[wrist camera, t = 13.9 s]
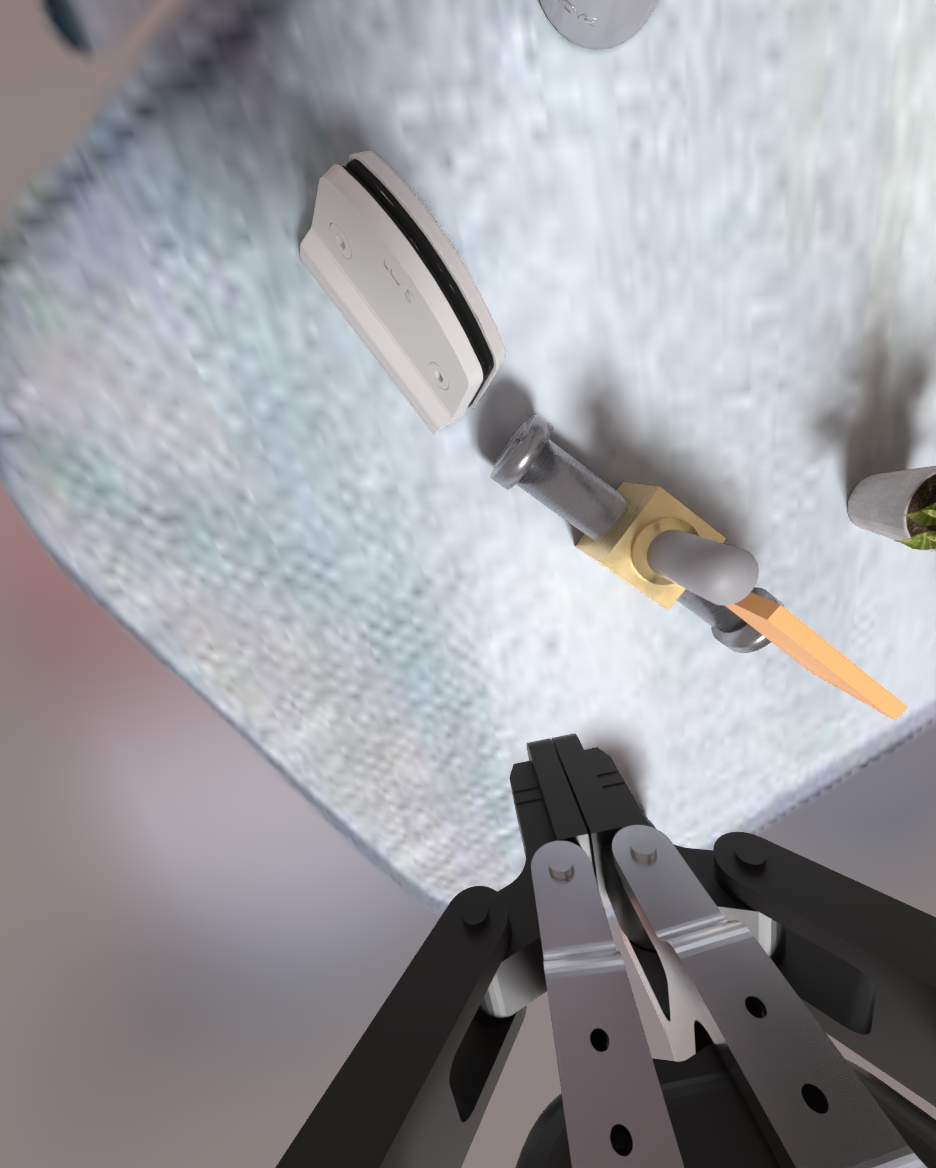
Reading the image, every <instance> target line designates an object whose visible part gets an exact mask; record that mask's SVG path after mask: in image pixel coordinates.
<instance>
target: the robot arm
mask: <svg viewBox="0 0 936 1168" xmlns="http://www.w3.org/2000/svg"><path fill="white" fill-rule="evenodd" d="M540 3H541V5H542V7H543V9H544V11H545V13H546V15H547V17H548V19H549V20H550V22H551V23H552V24H553V25H554V27H555V28H556V29H557V30H558V32H559V33H561V34H562V35H563V36H564V37H566V38H567V39H568V40H569V41H570V42H573V43H575V44H577V45H579V46H581V47H584V48H590V49H596V50H598V49H607V48H612V47H614V46H617V45H619V44H622V43H624V42H625V41H627V40H628V39H629V38H631V37H632V36H634V35H635V34H636V33H637V32H638V31H639V30H640V29H641V28H642V26H643V25H644V24H645V23H646V22H647V20H648V18H649V17H650V15H651V14H652V12H653V10H654V9H655V7H656V5H657V3H658V0H540ZM527 751H528V756H529V761H527V762H522V763H517V764H514V765H513V768H512V772H511V775H510V782H511V788H512V793H513V798H514V804H515V809H516V814H517V819H518V824H519V828H520V833H521V837H522V842H523V846H524V851H525V855H526V863H525V866H524V869H523V871H522V872H521V874H520V875H519V877H518V878H517V879H516V880H515V881H514V882H512V883H511V884H510V885H508V886H506V887H505V888H503V889H501V890H500V891H498V892H497V891H495V890H493V889H491V888H489V887H485V886H475V887H470V888H467V889H465V890H463V891H462V892H460V893H459V894H458V895H456V896H455V897H454V898H453V900H452V901H451V902H450V904H449V905H448V907H447V908H446V910H445V911H444V913H443V914H442V916H441V917H440V919H439V921H438V922H437V924H436V925H435V927H434V928H433V930H432V931H431V933H430V934H429V936H428V937H427V939H426V940H425V942H424V943H423V945H422V946H421V948H420V949H419V951H418V952H417V954H416V955H415V957H414V958H413V960H412V961H411V963H410V965H409V967H408V968H407V969H406V971H405V972H404V974H403V975H402V977H401V978H400V980H399V981H398V983H397V984H396V986H395V988H394V989H393V990H392V992H391V993H390V995H389V996H388V998H387V999H386V1001H385V1002H384V1004H383V1005H382V1007H381V1008H380V1010H379V1011H378V1013H377V1015H376V1016H375V1018H374V1019H373V1021H372V1022H371V1024H370V1025H369V1027H368V1028H367V1030H366V1031H365V1033H364V1034H363V1036H362V1037H361V1039H360V1040H359V1042H358V1043H357V1045H356V1046H355V1048H354V1049H353V1051H352V1052H351V1054H350V1055H349V1057H348V1059H347V1060H346V1062H345V1063H344V1065H343V1066H342V1068H341V1069H340V1071H339V1072H338V1074H337V1075H336V1077H335V1078H334V1080H333V1081H332V1083H331V1084H330V1086H329V1088H328V1089H327V1090H326V1092H325V1093H324V1095H323V1096H322V1098H321V1099H320V1101H319V1102H318V1104H317V1105H316V1107H315V1108H314V1110H313V1112H312V1113H311V1115H310V1116H309V1118H308V1119H307V1121H306V1122H305V1124H304V1125H303V1127H302V1128H301V1130H300V1131H299V1133H298V1134H297V1136H296V1137H295V1139H294V1140H293V1142H292V1143H291V1145H290V1146H289V1148H288V1149H287V1151H286V1153H285V1154H284V1155H283V1157H282V1159H281V1160H280V1162H279V1164H278V1165H277V1166H276V1168H461V1166H462V1164H463V1162H464V1160H465V1157H466V1155H467V1152H468V1150H469V1148H470V1145H471V1143H472V1141H473V1138H474V1136H475V1133H476V1131H477V1129H478V1127H479V1124H480V1122H481V1119H482V1117H483V1115H484V1112H485V1110H486V1107H487V1105H488V1103H489V1101H490V1098H491V1096H492V1093H493V1091H494V1089H495V1086H496V1084H497V1081H498V1079H499V1077H500V1075H501V1072H502V1070H503V1067H504V1065H505V1062H506V1060H507V1058H508V1056H509V1053H510V1051H511V1048H512V1046H513V1044H514V1041H515V1039H516V1036H517V1034H518V1032H519V1030H520V1027H521V1025H522V1022H523V1020H524V1017H525V1013H526V1008H527V1004H529V1003H530V1002H532V1001H533V1000H534V999H536V998H537V997H539V996H540V995H542V994H543V993H545V992H546V991H547V992H548V1000H549V1007H550V1014H551V1021H552V1028H553V1035H554V1043H555V1050H556V1057H557V1064H558V1071H559V1078H560V1086H561V1094H559V1095H558V1096H557V1097H556V1098H555V1099H554V1100H553V1101H552V1102H551V1103H550V1104H549V1105H548V1106H547V1108H546V1109H545V1110H544V1111H543V1112H542V1114H541V1115H540V1116H539V1118H538V1120H537V1121H536V1123H535V1124H534V1126H533V1128H532V1129H531V1131H530V1133H529V1135H528V1137H527V1139H526V1141H525V1144H524V1146H523V1148H522V1151H521V1153H520V1156H519V1159H518V1161H517V1164H516V1168H936V1120H935V1119H934V1118H932V1117H931V1116H929V1115H928V1114H927V1113H925V1112H924V1111H922V1110H921V1109H920V1108H918V1107H917V1106H916V1105H914V1104H913V1103H911V1102H910V1101H909V1100H907V1099H906V1098H905V1097H903V1096H902V1095H900V1094H899V1093H898V1092H896V1091H895V1090H893V1089H892V1088H890V1087H889V1086H888V1085H886V1084H885V1083H884V1082H882V1081H881V1080H879V1079H878V1078H877V1077H875V1076H874V1075H872V1074H871V1073H869V1072H867V1071H865V1070H864V1069H862V1068H861V1067H859V1066H857V1065H856V1064H854V1063H852V1062H850V1061H848V1060H846V1059H844V1057H843V1056H842V1055H841V1053H840V1052H839V1051H838V1049H837V1048H836V1046H835V1045H834V1044H833V1042H832V1041H831V1040H830V1038H829V1037H828V1036H827V1034H829V1035H830V1036H832V1037H833V1038H835V1039H836V1040H838V1041H839V1042H841V1043H842V1044H844V1045H845V1046H846V1047H848V1048H849V1049H851V1050H853V1051H854V1052H855V1053H857V1054H858V1055H860V1056H861V1057H863V1058H864V1059H866V1060H867V1061H869V1062H870V1063H872V1064H873V1065H874V1066H876V1067H877V1068H879V1069H880V1070H882V1071H883V1072H885V1073H886V1074H888V1075H889V1076H891V1077H892V1078H894V1079H895V1080H897V1081H898V1082H900V1083H901V1084H903V1085H904V1086H906V1087H907V1088H909V1089H910V1090H911V1091H913V1092H915V1093H916V1094H917V1095H919V1096H920V1097H922V1098H923V1099H925V1100H926V1101H928V1102H929V1103H931V1104H932V1105H934V1106H935V1107H936V917H934V916H931V915H929V914H927V913H924V912H923V911H920V910H918V909H916V908H914V907H912V906H910V905H907V904H905V903H903V902H901V901H899V900H896V899H894V898H892V897H890V896H888V895H885V894H883V893H881V892H879V891H877V890H875V889H872V888H870V887H868V886H866V885H864V884H861V883H859V882H857V881H855V880H853V879H851V878H848V877H846V876H844V875H842V874H839V873H837V872H835V871H833V870H831V869H829V868H827V867H824V866H822V865H820V864H818V863H816V862H813V861H811V860H809V859H807V858H805V857H802V856H800V855H798V854H796V853H794V852H792V851H789V850H787V849H785V848H783V847H781V846H779V845H776V844H774V843H772V842H770V841H768V840H765V839H763V838H761V837H758V836H756V835H753V834H749V833H744V832H731V833H727V834H725V835H722V836H721V837H720V838H718V840H717V841H716V842H715V845H714V851H713V850H702V849H691V848H684V847H680V846H677V845H674V844H673V843H672V842H671V841H670V839H669V838H668V837H667V836H666V835H665V834H663V833H662V832H660V831H659V830H657V829H655V828H652V827H650V825H649V824H648V822H647V820H646V819H645V817H644V815H643V813H642V812H641V810H640V808H639V806H638V805H637V803H636V801H635V799H634V797H633V796H632V794H631V792H630V790H629V789H628V787H627V785H626V784H625V782H624V780H623V778H622V776H621V775H620V773H619V772H618V769H617V768H616V766H615V764H614V762H613V761H612V759H611V757H609V756H608V755H607V754H605V753H604V752H603V751H601V750H600V749H599V748H592V749H587V750H584V749H583V747H582V745H581V743H580V741H579V739H578V737H577V735H576V734H570V735H565V736H560V737H555V738H552V739H550V738H549V739H545V740H540V741H535V742H530V743H527ZM608 906H612V908H613V910H614V913H615V915H616V918H617V920H618V923H619V925H620V927H621V931H622V937H623V940H624V942H625V944H626V947H627V949H628V951H629V953H630V956H631V958H632V960H633V962H634V964H635V966H636V968H637V970H638V973H639V975H640V977H641V979H642V981H643V984H644V986H645V988H646V990H647V992H648V995H649V997H650V999H651V1001H652V1003H653V1005H654V1007H655V1010H656V1012H657V1014H658V1016H659V1019H660V1021H661V1023H662V1025H663V1027H664V1029H665V1032H666V1034H667V1037H668V1040H669V1043H670V1046H671V1049H672V1053H673V1056H674V1060H675V1061H668V1060H659V1059H652V1057H651V1053H650V1050H649V1046H648V1043H647V1039H646V1036H645V1033H644V1029H643V1026H642V1023H641V1019H640V1016H639V1012H638V1009H637V1006H636V1002H635V999H634V996H633V992H632V989H631V985H630V982H629V979H628V975H627V972H626V969H625V965H624V962H623V959H622V956H621V954H620V952H619V951H617V950H616V947H615V944H614V940H613V937H612V934H611V930H610V926H609V923H608V919H607V916H606V913H605V909H604V907H608ZM825 1032H826V1033H827V1034H826V1033H825Z"/></svg>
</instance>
